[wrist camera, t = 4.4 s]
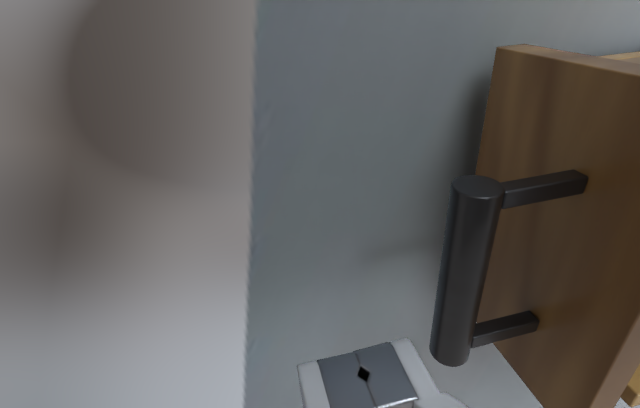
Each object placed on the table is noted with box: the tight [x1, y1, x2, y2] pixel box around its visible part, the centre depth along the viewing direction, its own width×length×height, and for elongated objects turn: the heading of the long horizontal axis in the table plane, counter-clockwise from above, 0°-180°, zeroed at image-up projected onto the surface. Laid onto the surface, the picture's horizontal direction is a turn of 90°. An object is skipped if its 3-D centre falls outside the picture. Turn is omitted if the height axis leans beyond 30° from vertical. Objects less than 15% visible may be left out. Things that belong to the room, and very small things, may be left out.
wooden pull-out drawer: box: [429, 44, 640, 408], centre depth 14 cm, size 18×12×8 cm
